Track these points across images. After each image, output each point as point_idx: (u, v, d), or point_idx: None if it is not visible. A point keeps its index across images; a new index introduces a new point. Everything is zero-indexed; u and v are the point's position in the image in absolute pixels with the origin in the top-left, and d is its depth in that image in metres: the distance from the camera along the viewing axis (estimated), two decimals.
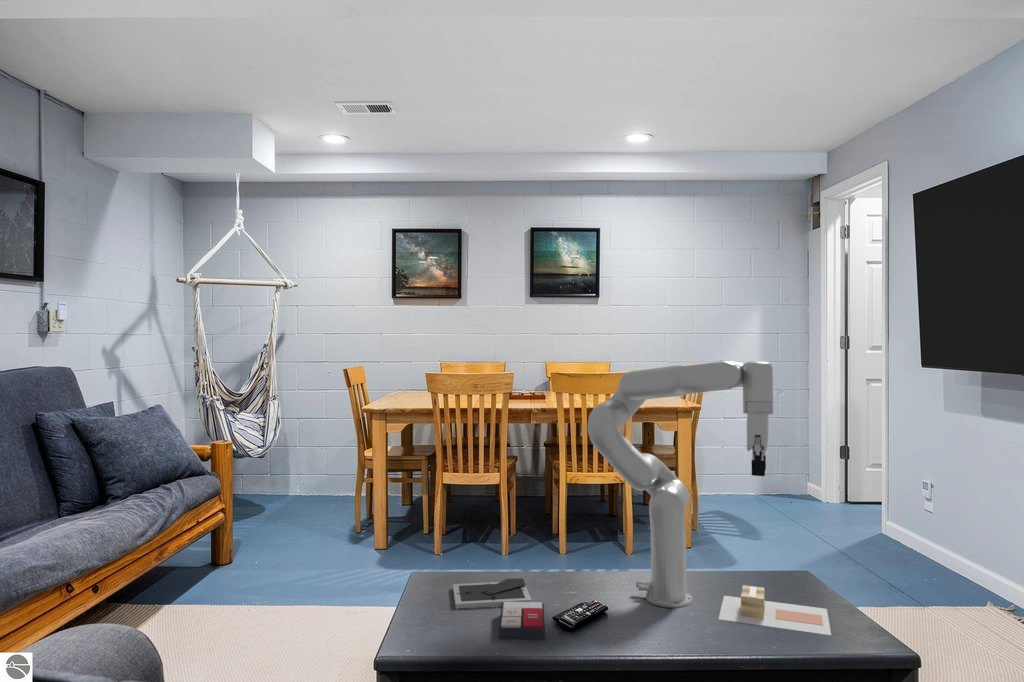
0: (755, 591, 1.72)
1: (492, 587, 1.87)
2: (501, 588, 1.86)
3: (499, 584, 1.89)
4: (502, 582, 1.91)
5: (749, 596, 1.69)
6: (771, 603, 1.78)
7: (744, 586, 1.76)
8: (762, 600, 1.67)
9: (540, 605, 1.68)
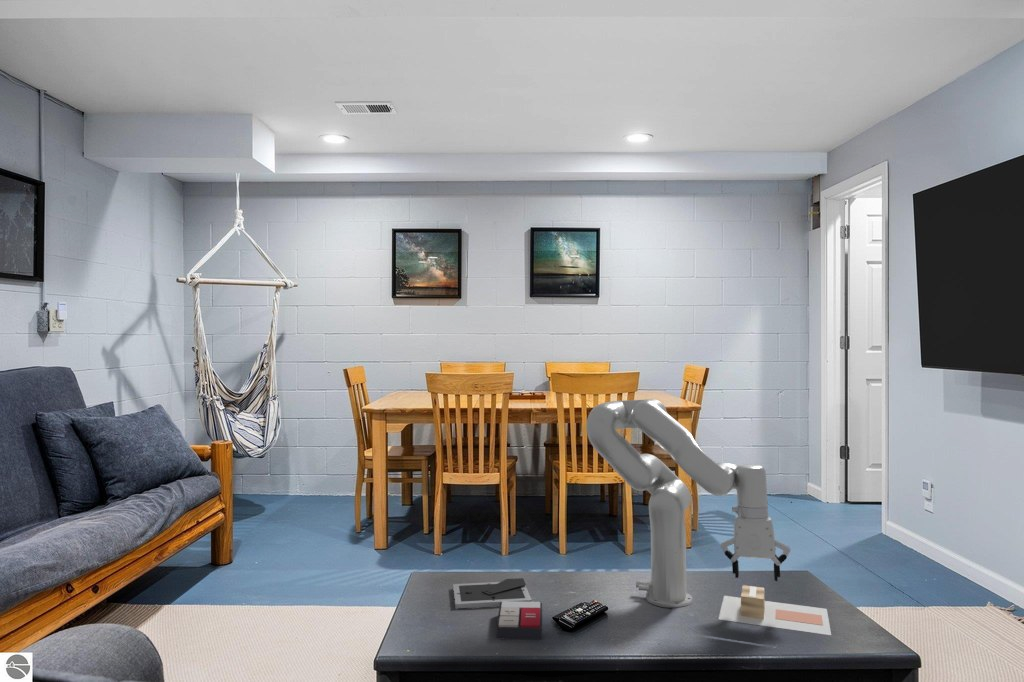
0: (755, 591, 1.72)
1: (492, 587, 1.87)
2: (502, 588, 1.86)
3: (499, 584, 1.89)
4: (502, 582, 1.90)
5: (749, 596, 1.69)
6: (771, 603, 1.78)
7: (744, 586, 1.76)
8: (762, 600, 1.67)
9: (538, 605, 1.69)
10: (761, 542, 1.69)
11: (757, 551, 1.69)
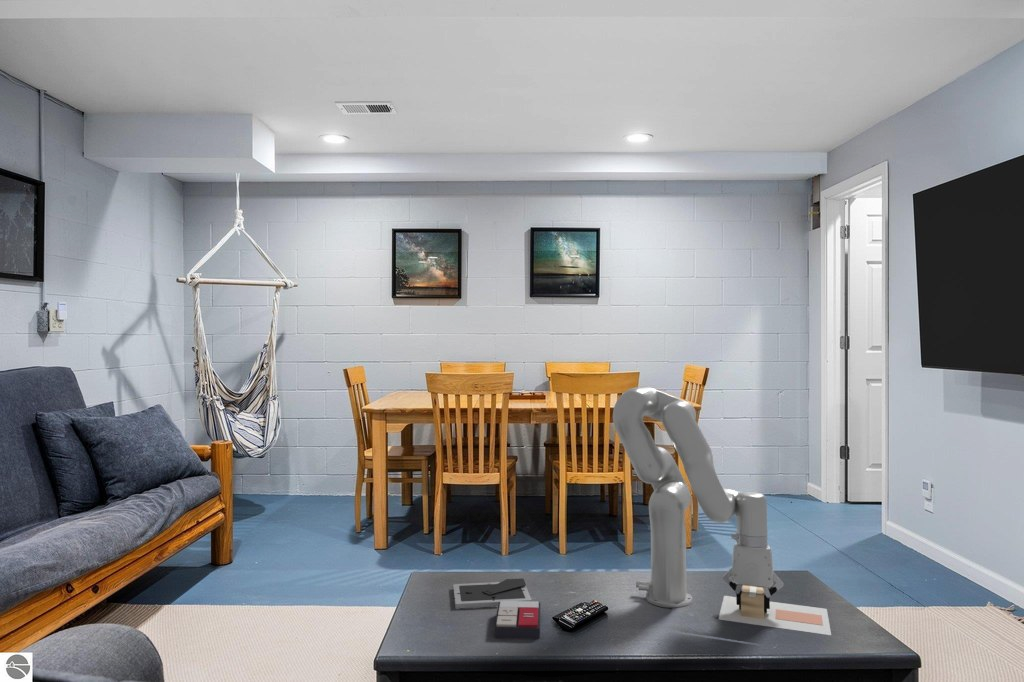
0: (755, 591, 1.72)
1: (492, 587, 1.87)
2: (502, 588, 1.86)
3: (499, 584, 1.89)
4: (502, 582, 1.90)
5: (749, 596, 1.69)
6: (771, 603, 1.78)
7: (744, 586, 1.76)
8: (762, 600, 1.67)
9: (536, 604, 1.69)
10: (759, 571, 1.69)
11: (755, 579, 1.69)
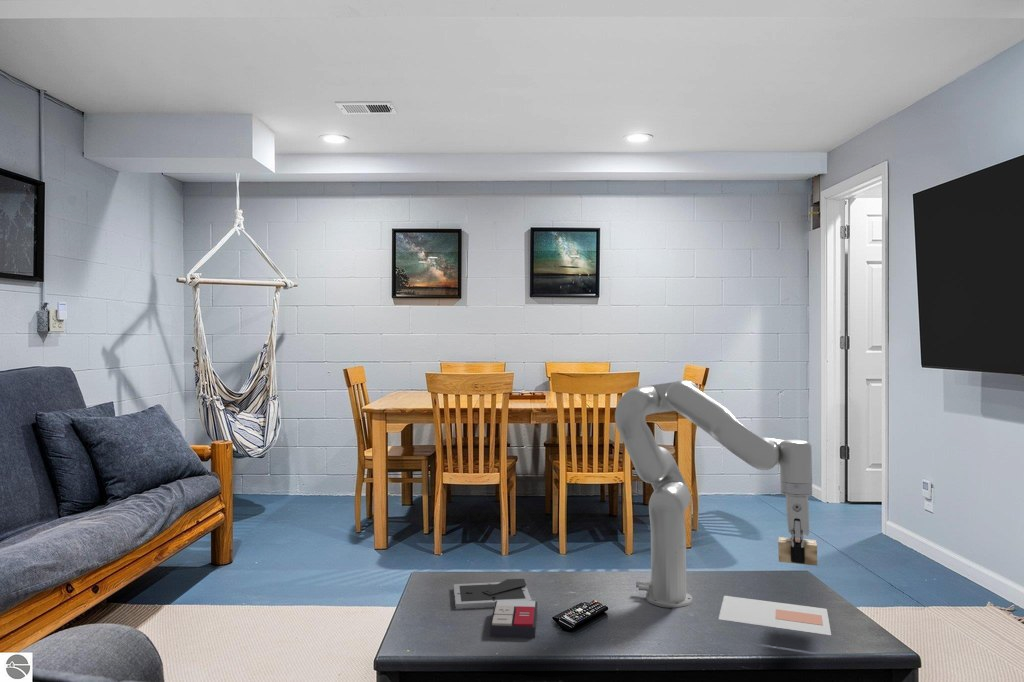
0: None
1: (493, 587, 1.87)
2: (502, 588, 1.86)
3: (500, 584, 1.89)
4: (503, 582, 1.90)
5: (814, 543, 1.66)
6: (771, 603, 1.78)
7: (782, 541, 1.68)
8: None
9: (533, 604, 1.69)
10: None
11: None
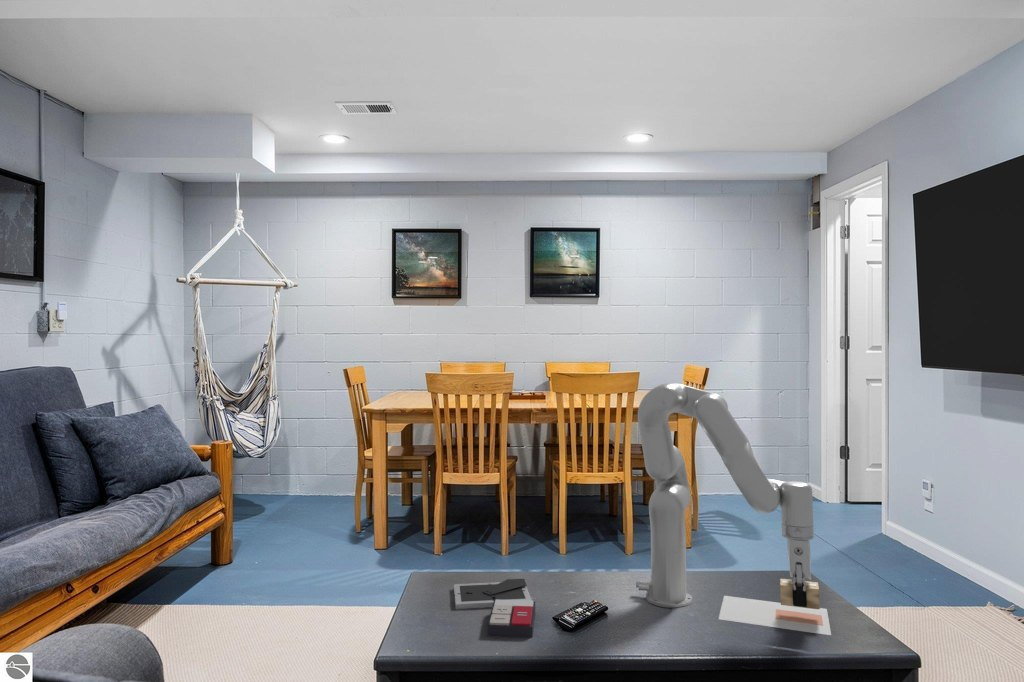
0: None
1: (493, 587, 1.87)
2: (502, 588, 1.86)
3: (500, 584, 1.89)
4: (503, 582, 1.90)
5: (816, 586, 1.66)
6: (771, 603, 1.78)
7: (784, 584, 1.67)
8: None
9: (531, 603, 1.70)
10: None
11: None
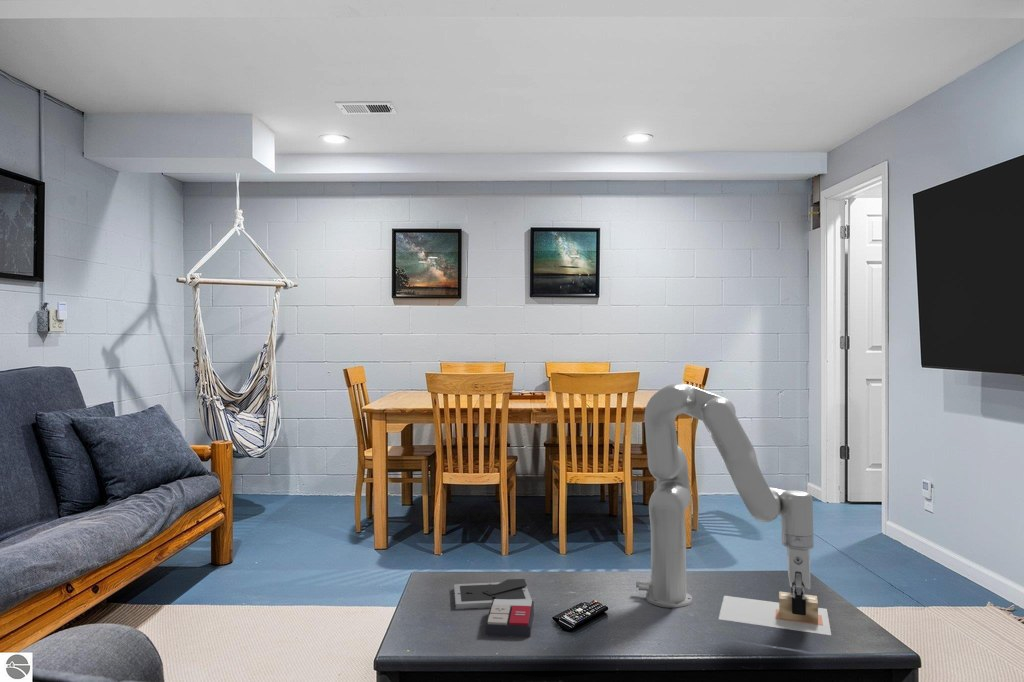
0: None
1: (493, 587, 1.87)
2: (502, 588, 1.86)
3: (500, 584, 1.89)
4: (503, 582, 1.90)
5: (815, 600, 1.66)
6: (771, 603, 1.78)
7: (783, 598, 1.67)
8: None
9: (529, 603, 1.70)
10: None
11: None
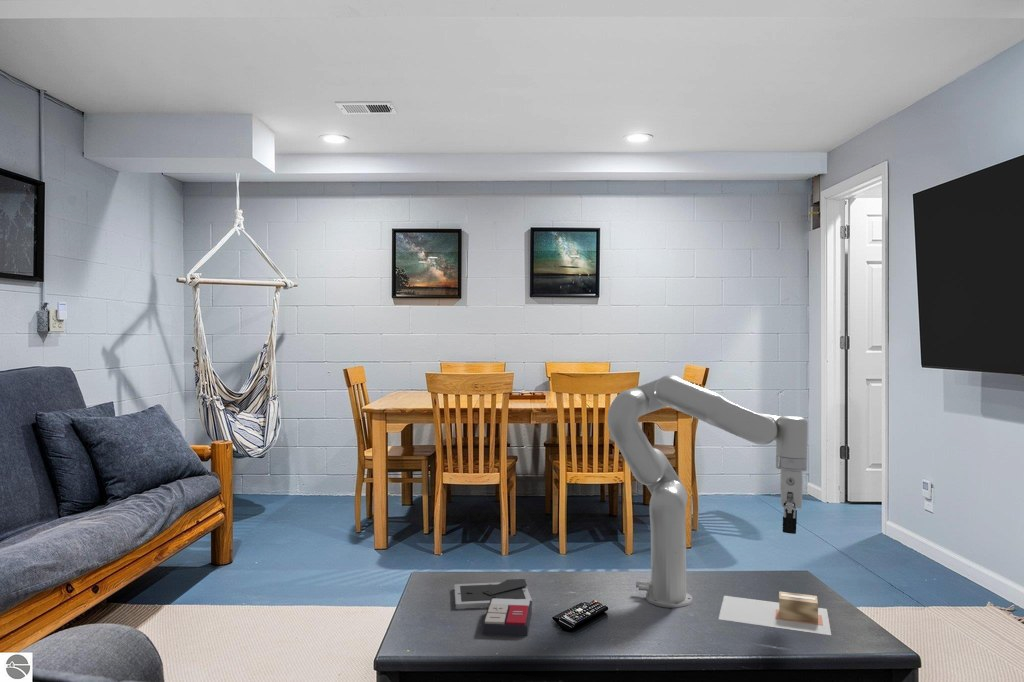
0: (796, 595, 1.69)
1: (493, 587, 1.86)
2: (502, 588, 1.86)
3: (500, 584, 1.89)
4: (503, 583, 1.90)
5: (815, 600, 1.66)
6: (771, 603, 1.78)
7: (783, 598, 1.67)
8: None
9: (527, 602, 1.70)
10: None
11: None
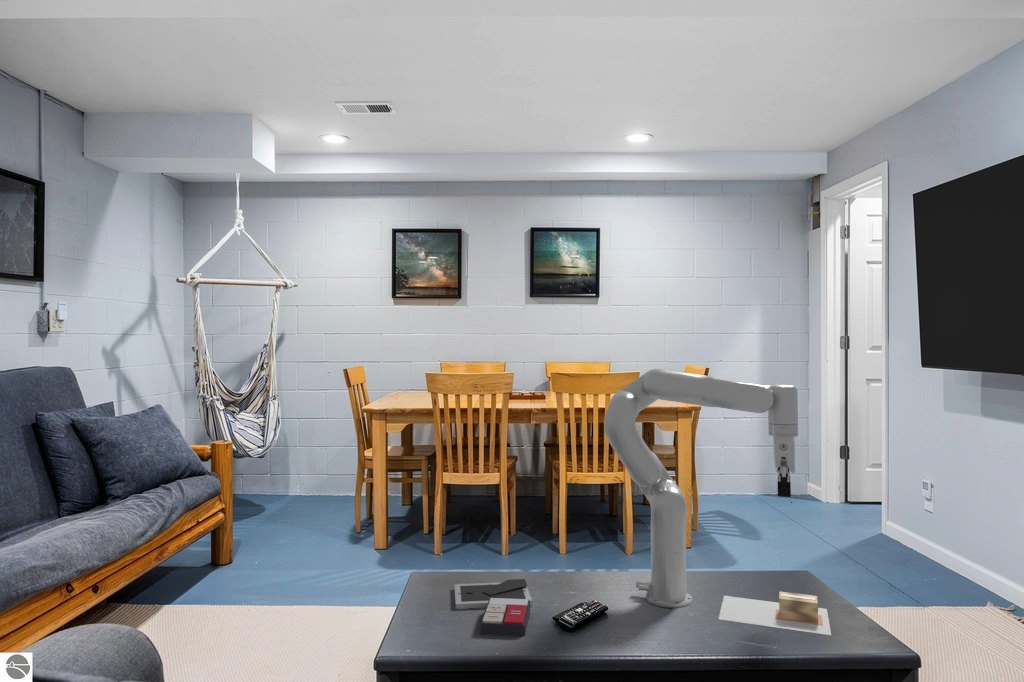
0: (796, 595, 1.69)
1: (493, 588, 1.86)
2: (503, 589, 1.86)
3: (500, 585, 1.89)
4: (504, 583, 1.90)
5: (815, 600, 1.66)
6: (771, 603, 1.78)
7: (783, 598, 1.67)
8: None
9: (525, 602, 1.70)
10: None
11: None
